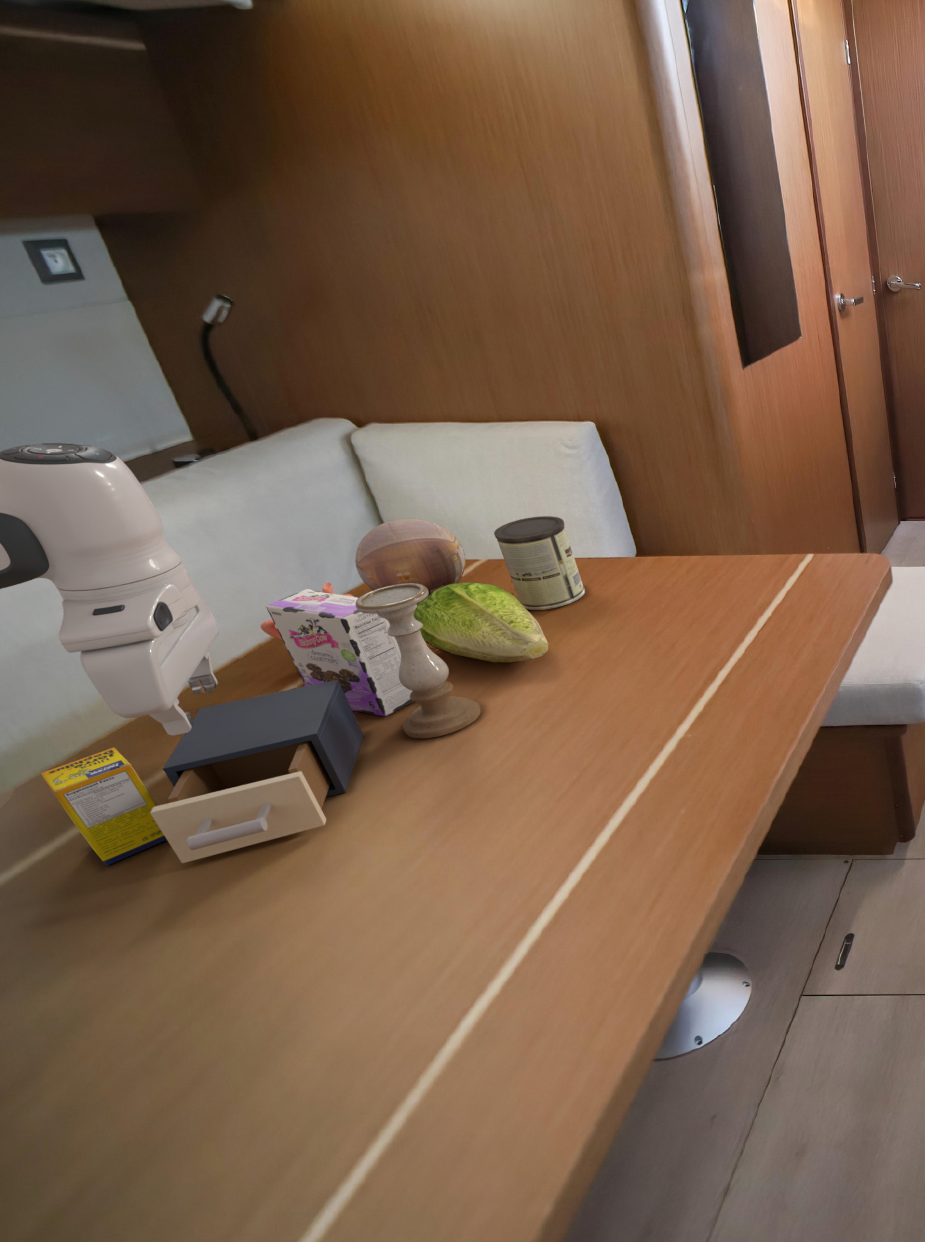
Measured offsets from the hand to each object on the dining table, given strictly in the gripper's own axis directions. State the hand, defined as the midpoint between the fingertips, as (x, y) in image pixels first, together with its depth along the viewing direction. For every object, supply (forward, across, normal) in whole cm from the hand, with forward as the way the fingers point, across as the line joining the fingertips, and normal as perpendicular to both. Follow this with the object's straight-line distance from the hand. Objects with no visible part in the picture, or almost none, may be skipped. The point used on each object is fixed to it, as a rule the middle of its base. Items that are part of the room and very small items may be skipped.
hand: (195, 709), depth 98 cm
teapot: (+18, -48, +1) cm, 52 cm away
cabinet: (+18, -12, 0) cm, 21 cm away
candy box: (+18, -30, +7) cm, 35 cm away
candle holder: (+18, -17, +16) cm, 30 cm away
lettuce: (+18, -37, +22) cm, 46 cm away
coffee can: (+17, -55, +30) cm, 65 cm away
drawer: (+17, -1, 0) cm, 17 cm away
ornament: (+18, -67, +11) cm, 70 cm away
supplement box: (+18, -6, -12) cm, 22 cm away
